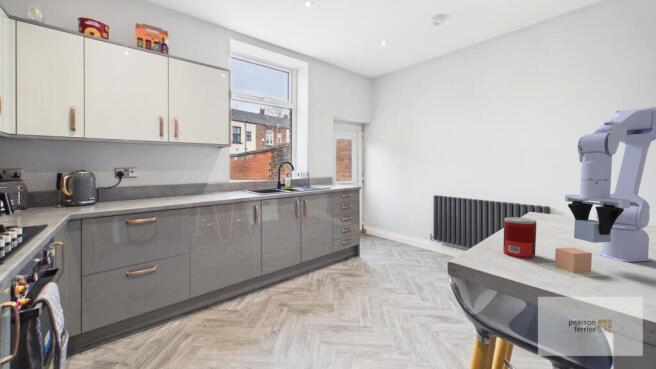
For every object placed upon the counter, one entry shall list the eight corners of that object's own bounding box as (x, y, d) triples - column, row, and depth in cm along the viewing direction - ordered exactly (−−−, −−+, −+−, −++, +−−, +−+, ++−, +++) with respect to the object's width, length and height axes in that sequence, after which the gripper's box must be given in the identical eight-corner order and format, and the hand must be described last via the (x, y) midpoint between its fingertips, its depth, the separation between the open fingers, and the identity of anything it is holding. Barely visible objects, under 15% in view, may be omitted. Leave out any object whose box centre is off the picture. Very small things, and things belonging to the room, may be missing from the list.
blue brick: (590, 237, 78) (591, 219, 78) (610, 241, 73) (611, 223, 73) (574, 237, 77) (574, 220, 77) (593, 242, 73) (594, 223, 72)
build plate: (572, 262, 80) (572, 261, 80) (612, 276, 70) (612, 275, 70) (536, 264, 78) (536, 263, 78) (572, 278, 68) (572, 277, 68)
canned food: (540, 260, 82) (541, 222, 81) (509, 258, 83) (510, 221, 83) (527, 252, 89) (528, 217, 89) (499, 251, 91) (500, 216, 90)
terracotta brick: (571, 265, 77) (572, 247, 77) (590, 271, 72) (591, 252, 72) (554, 266, 76) (555, 248, 76) (573, 272, 71) (573, 253, 71)
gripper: (556, 179, 81) (554, 226, 82) (613, 181, 67) (609, 239, 68) (578, 178, 82) (576, 226, 83) (639, 181, 68) (635, 238, 68)
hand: (592, 232), depth 75 cm, fingers closed on blue brick, 5 cm apart
